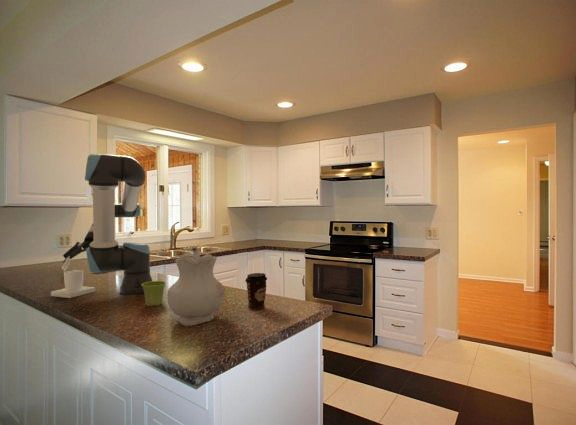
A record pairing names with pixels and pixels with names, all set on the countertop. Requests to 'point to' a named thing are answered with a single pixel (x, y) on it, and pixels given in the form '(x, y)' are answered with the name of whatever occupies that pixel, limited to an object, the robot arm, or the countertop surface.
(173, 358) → the countertop surface
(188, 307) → the ceramic pitcher
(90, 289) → the coaster tray
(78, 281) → the white cup
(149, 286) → the plant pot
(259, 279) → the coffee cup
